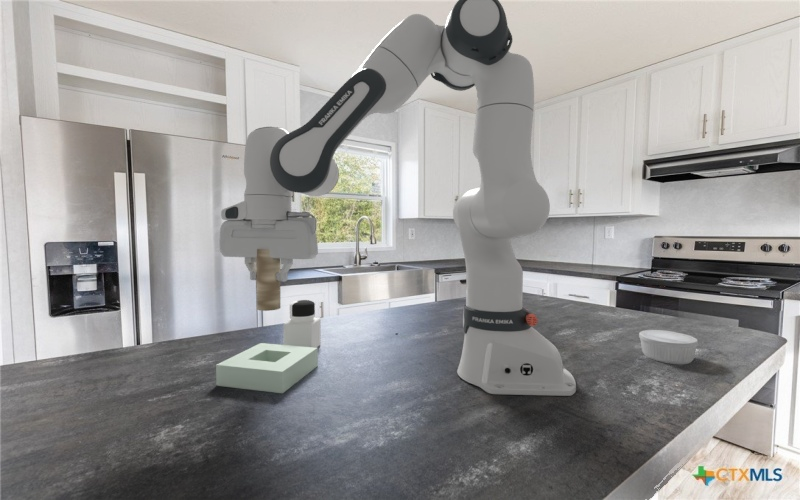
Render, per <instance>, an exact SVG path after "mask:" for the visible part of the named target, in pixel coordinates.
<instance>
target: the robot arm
mask: <svg viewBox="0 0 800 500" xmlns="http://www.w3.org/2000/svg"><path fill="white" fill-rule="evenodd" d="M502 5H503V4H502V3H501V2H500V1H499V0H457V1H456V3H455V4H454V5H453V7H452V8H451V10H450V12H449V14H448V16H447V19H446V23H445V25H439V24H436V23H435V22H434V21H433V20H432V19H431V18H429V17H427V16H426V15H423V14H419V13H413V14H410V15H408V16H406V17H405V18H404V19H403V20H402V21H400V22H399V23H397V25H395V27H393V28H392V29H391V30H390V31H389V32H388V33H387V34H386V35H385V36H384V37H383V38H382V39H381V40H380V41H379V43H378V44H377V45H376V46H375V47H374V49H372V51H371V53H370V54H369V55H368V56H367V57H366V59H365V60H364V61H363V63H362V64H361V65H360V66H359V68H358V69H357V70H356V71H355V72H354V73H353V74H352V76H351V77H349V79H347V81H346V82H344V83H343V85H341V87H339V89H338V90H337V91H336V92H335V93H334V94H333V95H332V96H331V98H329V100H327V102H325V103H324V105H323V106H322V107H321V108H320V109H319V110H318V111H317V112H316V113H315V114H314V116H313V117H312V118H310V119H309V120H308V121H307V122H306V123H305V124H304V125H302V126H300V127H299V128H296V129H295V130H292V131H290V132H288V131H287V130H286V129H285V128H282V127H278V126H264V127H259V128H255V129H254V130H252V131H251V132H250V133H249V134H248V135H247V138H246V141H245V147H244V157H243V161H244V162H243V175H244V178H245V183H246V184H245V185H246V186H245V188H244V189H245V190H244V193H243V194H244V195H243V199H244V200H243V201H240V202H238V203H235V204H233V205H231V206H227V207H225V208H222V210H221V212H220V216H221V219H222V220H224V221H223V222H222V223H221V226H220V230H219V251H220V254H221V255H222V256H223V257H224V258H244V264H245V266H246V268H247V270H248V272H249V280H250V281H257V264H256V258H257V249H270V251H269V255H270V257H271V258H280V265H282V267H281V268H280V272H278V273H276V277H277V278H276V281H280V283H281V282H283V283H284V282H287V281H288V273H289V271H290V269H291V268H292V265H293V263H294V261H293V260H313V259H315V258H316V256H317V255H318V254H319V247H318V245H319V244H318V238H317V228H318V227H317V225H318V224H317V218H316V217H315V215H313V214H312V213H311V212H309V211H292V194H293V193H298V194H299V193H300V194H301V195H305V196H310V197H320V196H321V197H322V196H324V195H327V194H329V193H331V192H332V190H334V189H335V187H336V186H337V184H338V181H339V177H340V174H339V172H340V171H339V167H338V164H337V163H336V161H335V159H334V156H335V154H336V151H337V150H338V148H339V147H340V146H341V145H342V144H343V143H344V142H345V140H346V139H347V138H348V137H349V136H350V135H351V134H352V133H353V132H354V130H355V129H357V127H358V126H359V125H360V124H361V123H362V121H364V120H365V119H366V118H367V117H369V116H370V115H374V114H376V113H378V114H383V115H384V114H386V115H387V114H391V113H395V112H396V111H397V110H398V109H399V108H401V107H402V106H403V105H404V104H405V103H406V102H407V101H408V100H409V99H410V98H411V97H412V95H414V93H415V92H416V91H417V90H418V89H419V88H420V86H421V85H422V83H423V82H424V81H425V80H426V79H428V77H429V76H431V78H433V80H435V81H437V82H440V83H442V84H444V86H446V87H448V88H449V89H451V90H454V91H459V92H461V91H463V92H464V91H466V90H467V91H468V90H470V89H471V88H473V87H475V89H476V97H477V100H476V101H477V102H476V109H475V117H474V118H475V120H474V130H473V142H472V153H473V155H474V157H475V158H476V160H477V162H478V166H479V172H480V173H479V174H480V180H481V181H480V186H478V187H474V188H471V189H469V190H467V191H466V192H465V193H464V194H462V195H461V196H460V197H459V198H458V199H457V200H456V202H455V204H454V205H453V209H452V217H453V222H454V224H455V225H456V227H457V229H458V232H459V236H460V240H461V245H462V251H463V257H464V261H465V271H466V272H465V274H466V276H465V277H466V278H465V279H466V280H465V281H466V283H465V284H466V285H465V288H466V289H465V290H466V291H465V292H466V293H465V296H466V297H465V304H464V306H463V311H462V313H463V314H462V329H463V332H464V337H463V345H462V351H461V356H460V361H459V364H458V367H457V370H456V372H457V375H458V376H459V378H461V379H462V380H463V381H465V382H466V383H469V384H472V385H474V386H477V387H478V388H481V389H482V390H483V391H484V392H486V393H487V394H491V395H510V396H511V395H516V396H517V395H518V396H519V395H520V396H521V395H523V396H559V397H561V396H562V397H563V396H564V397H567V396H569V397H570V396H573V395H574V394H575V393H576V391H577V383H576V380H575V379H576V378H574V376H573V375H572V373H571V372H570V371H569V370H567V369H566V368H565V367H564V365H563V360H562V357H561V353H560V351H559V349H558V348H557V347H556V346H555V345H554V344H553V343H552V342H551V341H550V340H549V339H547V338H546V337H545V336H544V335H542V334H541V333H540V332H538V330H537V329H535V328H534V326H536V325H537V324H538V322H539V320H538V317H537V315H536V314H534V313H533V312H531V311H530V310H529V309H528V308H526V307H524V306H523V291H524V290H523V285H524V284H523V280H524V276H523V275H524V272H523V271H524V270H523V267H522V266H521V264H520V262H519V261H518V260H517V258H516V256H515V253H514V250H513V245H512V242H511V239H518V238H519V239H520V238H522V237H525V236H528V235H531V234H534V233H536V232H537V231H539V230H540V229H542V227H543V226H544V225H545V224H546V223H547V220H548V218H549V215H550V210H551V204H550V199H549V196H548V193H547V192H546V190H545V189H544V187H543V186H542V185H540V183H539V181H538V180H537V178H536V175H535V171H534V167H533V162H532V161H533V160H532V153H531V152H532V150H531V149H532V147H531V146H532V134H533V133H532V132H533V123H534V122H533V121H534V111H535V110H534V108H535V82H534V81H535V80H534V73H533V71H534V70H533V66H532V65H531V62H530V61H529V59H528V58H527V57H525V56H523V55H521V54H518V53H513V52H510V49H511V46H512V44H513V35H512V33H511V31H510V28H509V26H508V19H507V15H506V13H505V9H504V8H503V6H502Z"/></svg>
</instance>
